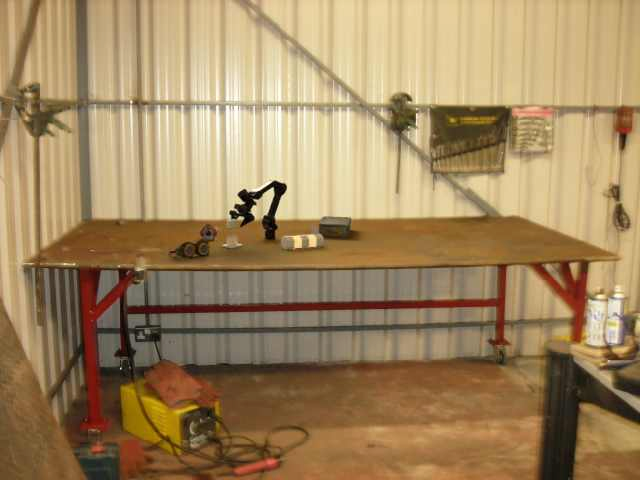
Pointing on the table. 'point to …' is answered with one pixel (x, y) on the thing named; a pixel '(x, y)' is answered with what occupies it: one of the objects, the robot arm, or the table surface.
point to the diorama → (303, 240)
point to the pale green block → (231, 223)
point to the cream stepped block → (232, 242)
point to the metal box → (334, 227)
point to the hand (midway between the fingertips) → (235, 226)
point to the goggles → (192, 249)
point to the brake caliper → (208, 233)
